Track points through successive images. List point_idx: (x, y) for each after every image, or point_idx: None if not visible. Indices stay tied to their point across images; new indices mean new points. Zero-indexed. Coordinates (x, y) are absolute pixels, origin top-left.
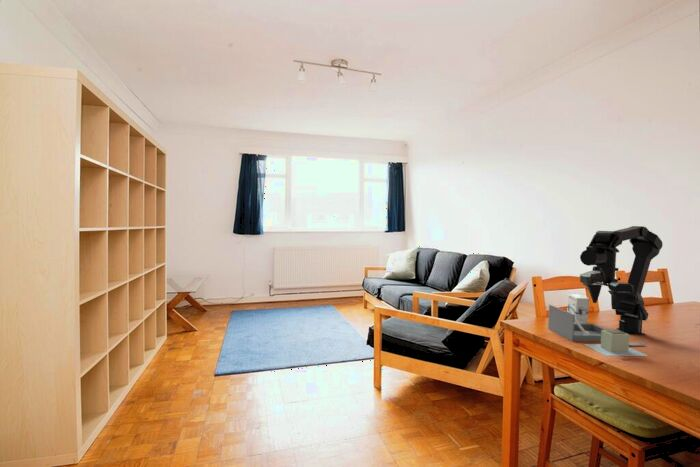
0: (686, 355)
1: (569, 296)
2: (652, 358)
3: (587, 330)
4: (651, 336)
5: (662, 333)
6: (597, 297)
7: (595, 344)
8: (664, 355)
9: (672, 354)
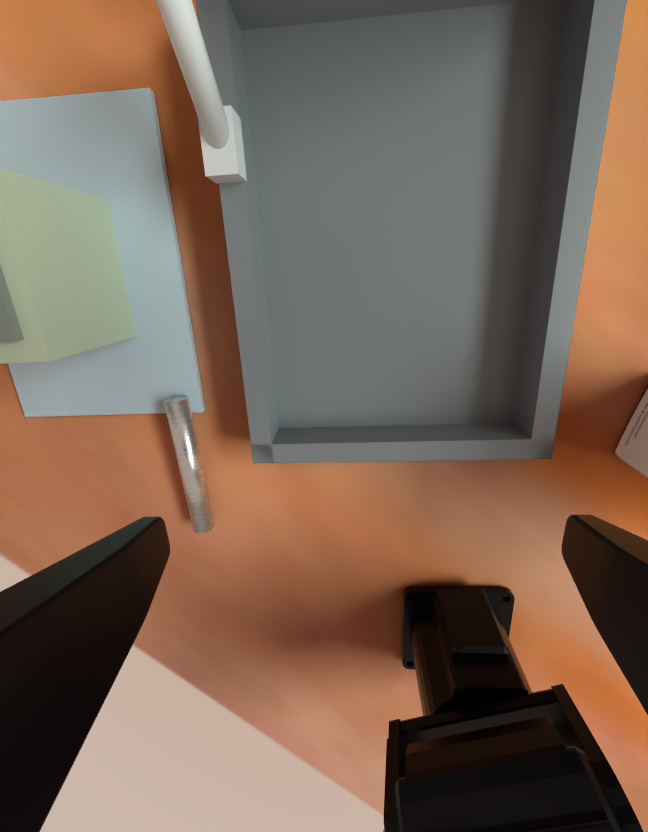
0: None
1: None
2: (19, 423)
3: (494, 371)
4: (385, 672)
5: None
6: (625, 656)
7: (163, 201)
8: (89, 518)
9: None
